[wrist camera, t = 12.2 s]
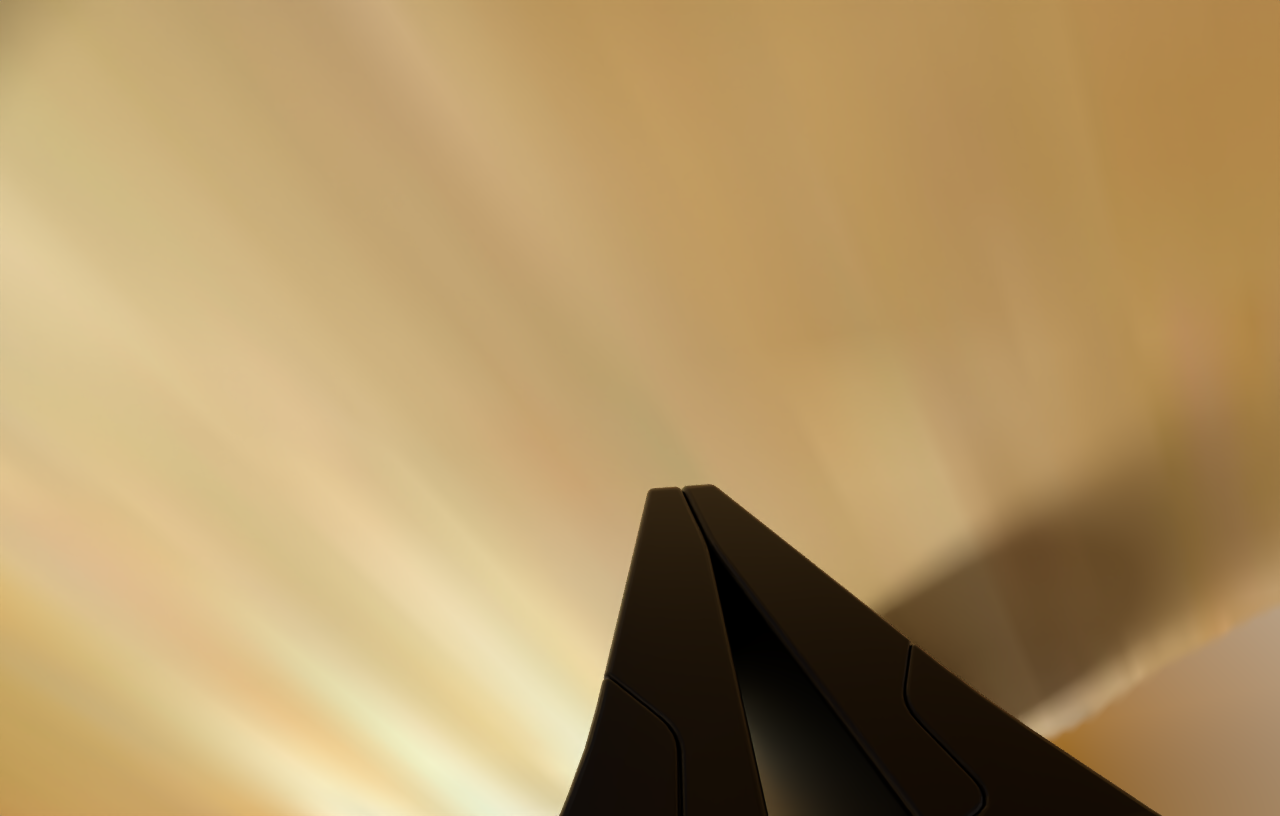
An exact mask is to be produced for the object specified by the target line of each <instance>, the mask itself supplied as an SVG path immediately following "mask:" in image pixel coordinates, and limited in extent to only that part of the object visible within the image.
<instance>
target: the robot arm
mask: <svg viewBox="0 0 1280 816" xmlns="http://www.w3.org/2000/svg"><path fill="white" fill-rule="evenodd" d="M910 646H911V647H910ZM559 816H1161V815H1160V814H1158V813H1157V812H1155V811H1154V810H1152V809H1151V808H1149V807H1148V806H1146V805H1145V804H1143V803H1142V802H1140V801H1138V800H1137V799H1136V798H1134V797H1133V796H1131V795H1130V794H1128V793H1126V792H1125V791H1123V790H1122V789H1121V788H1119V787H1117V786H1116V785H1114V784H1113V783H1112V782H1110V781H1109V780H1107V779H1105V778H1104V777H1102V776H1101V775H1099V774H1098V773H1096V772H1095V771H1093V770H1092V769H1090V768H1089V767H1087V766H1086V765H1084V764H1083V763H1081V762H1080V761H1078V760H1077V759H1075V758H1074V757H1072V756H1071V755H1069V754H1068V753H1066V752H1065V751H1063V750H1062V749H1060V748H1059V747H1057V746H1055V745H1054V744H1053V743H1051V742H1050V741H1048V740H1047V739H1045V738H1044V737H1042V736H1041V735H1039V734H1038V733H1036V732H1035V731H1033V730H1032V729H1030V728H1029V727H1028V726H1026V725H1025V724H1023V723H1022V722H1020V721H1019V720H1017V719H1016V718H1015V717H1013V716H1012V715H1010V714H1009V713H1007V712H1006V711H1005V710H1003V709H1002V708H1000V707H999V706H997V705H996V704H994V703H993V702H992V701H990V700H989V699H987V698H986V697H984V696H983V695H982V694H980V693H979V692H978V691H976V690H975V689H974V688H972V687H971V686H970V685H968V684H967V683H966V682H964V681H963V680H962V679H960V678H959V677H958V676H956V675H955V674H954V673H952V672H951V671H950V670H948V669H947V668H946V667H944V666H943V665H942V664H941V663H939V662H938V661H937V660H935V659H934V658H933V657H932V656H930V655H929V654H928V653H927V652H925V651H924V650H923V649H922V648H920V647H919V646H918V645H916V644H913V645H911V641H910V639H909V638H907V637H906V636H905V635H903V634H902V633H901V632H900V631H898V630H897V629H896V628H895V627H893V626H892V625H891V624H890V623H888V622H887V621H886V620H884V619H883V618H882V617H881V616H879V615H878V614H877V613H876V612H874V611H873V610H872V609H871V608H869V607H868V606H867V605H865V604H864V603H863V602H862V601H860V600H859V599H858V598H857V597H855V596H854V595H853V594H852V593H850V592H849V591H848V590H847V589H845V588H844V587H843V586H841V585H840V584H839V583H838V582H836V581H835V580H834V579H833V578H831V577H830V576H829V575H828V574H826V573H825V572H824V571H822V570H821V569H820V568H819V567H817V566H816V565H815V564H814V563H812V562H811V561H810V560H809V559H807V558H806V557H805V556H803V555H802V554H801V553H800V552H798V551H797V550H796V549H795V548H793V547H792V546H791V545H790V544H788V543H787V542H786V541H784V540H783V539H782V538H781V537H779V536H778V535H777V534H776V533H774V532H773V531H772V530H771V529H769V528H768V527H767V526H766V525H764V524H763V523H762V522H760V521H759V520H758V519H757V518H755V517H754V516H753V515H752V514H750V513H749V512H748V511H747V510H745V509H744V508H743V507H741V506H740V505H739V504H738V503H736V502H735V501H734V500H733V499H731V498H730V497H729V496H728V495H726V494H725V493H724V492H722V491H721V490H720V489H719V488H717V487H716V486H714V485H711V484H707V485H693V486H685V487H684V488H683V489H682V490H681V489H680V488H678V487H665V488H653V489H650V490H649V491H648V493H647V497H646V502H645V506H644V510H643V514H642V518H641V523H640V527H639V531H638V535H637V539H636V544H635V548H634V552H633V556H632V561H631V565H630V569H629V573H628V577H627V582H626V586H625V590H624V594H623V598H622V603H621V607H620V611H619V615H618V619H617V624H616V628H615V632H614V636H613V641H612V645H611V649H610V653H609V657H608V662H607V666H606V670H605V674H604V680H603V682H602V685H601V689H600V694H599V698H598V702H597V706H596V710H595V714H594V717H593V721H592V724H591V728H590V732H589V735H588V739H587V742H586V746H585V749H584V752H583V755H582V757H581V760H580V763H579V765H578V768H577V771H576V774H575V776H574V779H573V782H572V785H571V787H570V790H569V793H568V796H567V798H566V801H565V803H564V806H563V808H562V810H561V813H560V815H559Z"/></svg>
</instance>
